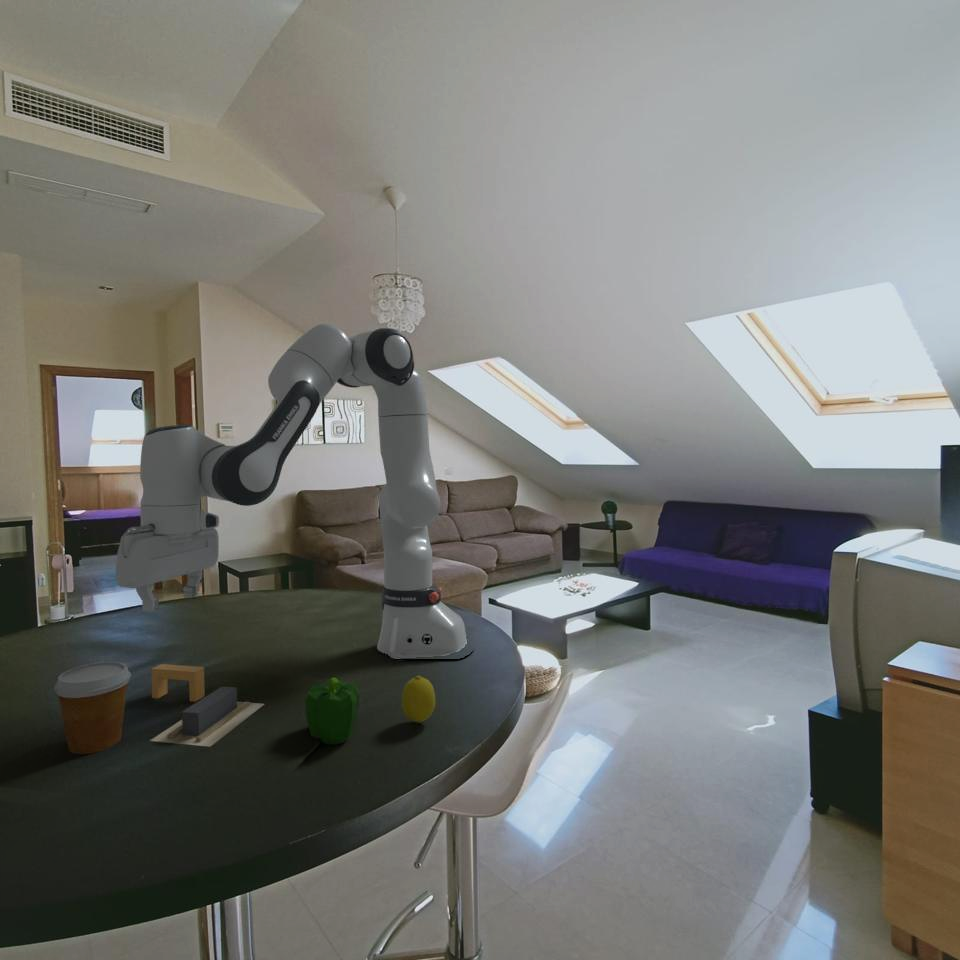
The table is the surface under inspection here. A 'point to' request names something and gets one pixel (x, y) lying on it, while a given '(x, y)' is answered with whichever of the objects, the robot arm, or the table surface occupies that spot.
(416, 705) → the lemon
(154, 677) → the wooden arch block
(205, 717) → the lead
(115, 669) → the disposable coffee cup
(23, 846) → the table surface
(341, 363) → the robot arm
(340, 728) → the bell pepper
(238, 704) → the board
